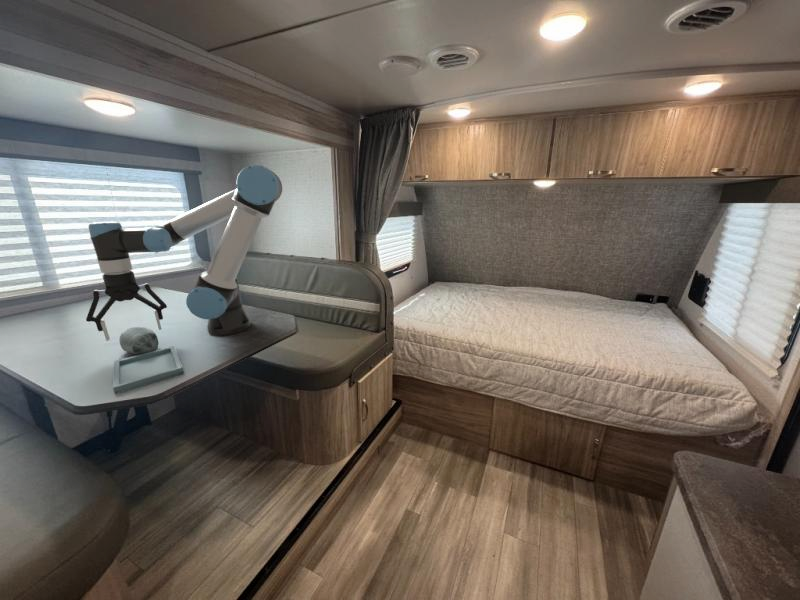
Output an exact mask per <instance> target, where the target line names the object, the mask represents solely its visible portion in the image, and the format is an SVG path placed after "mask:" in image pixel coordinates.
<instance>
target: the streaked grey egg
mask: <svg viewBox="0 0 800 600" xmlns="http://www.w3.org/2000/svg"><path fill="white" fill-rule="evenodd" d="M119 345H120V347H121V349H122V350H123V351H124V352H126V353H129V354H132V355H140V354H144V353H148V352H152V351H156V350H158V347H159V339H158V336H157V334H156V332H155V331H154V330H152V329H150V328H147V327H142V326H137V327H129V328H127V329H125V330H124V331H122V332H121V334H120V336H119Z"/></svg>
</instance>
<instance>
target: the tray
mask: <svg viewBox="0 0 800 600" xmlns="http://www.w3.org/2000/svg"><path fill="white" fill-rule="evenodd" d="M113 361H114V362H113V383H112V385H113V386H112V388H113V391H114V394H115V395H117V394H121V393H124V392H128V391H130V390H134V389H137V388H140V387H144V386H147V385H150V384H153V383H157V382H160V381H163V380H167V379H170V378H173V377H177V376H180V375H183V374H184V373H185V372H184V369H183V365H182V363H181V360H180V358H179V354H178V352H177V350H176V348H175V346H174V345H173V346H169V347H165V348H159V349H157V350H156V351H152V352H148V353H144V354H140V355H139V354H136V355H133V356H130V357H126V358H122V359H117V360H113Z"/></svg>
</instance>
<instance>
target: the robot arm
mask: <svg viewBox="0 0 800 600" xmlns="http://www.w3.org/2000/svg"><path fill="white" fill-rule="evenodd" d="M235 184H236V188H234V189H233V190H230V191H229V192H226V193H224V194H222V195H220V196H217V197H216V198H214V199H212V200H210V201H207V202H205V203H203V204H201V205H199V206H197V207H195V208H193V209H190V210H188V211H186V212H184V213H182V214H180V215H178V216H176V217H174V218H172V219H170V220H168V221H166V222H163V223H161V224H159V225H153V226H150V227H149V226H148V227H140V228H138V227H137V228H136V227H135V228H126V227H123V226H122V224H121V222H118V221H97V222H96V221H94V222H91V223H89V225H88V231H89V236H90V241H91V242H92V245H93V248H94V252H95V254H96V258H97V263H98V266H99V270H100V272H101V273H102V279H103V283H104V286H105V289H100V290H99V289H93V291H92V294H93V299H92V302H91V305H90V306H89V307H90V308H89V310H88V313H87V316H86V319H85V321H86V322H89V323H90V322H94V323H95V325H96V327H97V332H103V335H104V337H105V341H107V342H108V341H110V339H111V338H110V334H109V332H108V327H107V324H106V322H105V319H104V316H105V315H106V314H107V312H108V311H109V310H110V308H111V307H112V305H114V303H115V302H116V301H117V302H121V303H122V302H124V301H132V300H133V299H136V300H138V301H140V302H141V303H142V304H143V303H144V304H145V305H147V306H148V307H150V308H152V309H153V312H154V315H155V320H156V325H157V327H158V330H159V331H161V330H162V326H161V322H160V321H161V320H163V319H164V317H163V313H162V312H163V311H162V310H164V309H166V308H168V305H167V304H166V302H164V301H163V300H162V298H160V296H158V294H156V293H155V291H153V290H152V288H151V286H150V284H149V283H148V282H145V283H144V284H140V285H138V284H137V281H136V277H135V274H134V271H133V266H132V262H131V258H130V254H133V253H155V254H157V253H162V252H163V253H164V252H165V253H166V252H169V251H170V250H171V248H172V247H174V246H177V245H178V244H179V243H181V242H183V241H185V240H186V239H189V238H191V237H193V236H195V235H196V234H199V233H201V232H203V231H205V230H208V229H210V228H212V227H213V226H215V225H217V224H220V223H222V222H223V221H226V220H228V221H227V224H226V226H225V229H224V231H223V234H222V236H221V238H220V240H219V242H218V245H217V248H216V250H215V252H214V255H213V256H212V259H211V261H210V264H209V266H208V269H207V270H205V271H203V272H200V274H199V277H198V278H197V281H196V283H195V285H194V288H192V289H191V290H190V291H189V292H188V294H187V296H186V299H185V304H186V307H187V309H188V310H189V312H190V313H191V314H192V315H194V316H196V317H197V318H200V319H203V320H208V321H207V325H206V326H207V327H206V328H207V332H208V334H209V335H211V336H218V337H219V336H220V337H221V336H229V335H234V334H238V333H240V332H243V331H246V330H248V329H249V328H250V327H251V326H252V325H251V319H250V317H249V316H248V314H247V312H246V311H245V309H244V307H243V301H242V297H241V290H240V286H239V278H238V273H239V272H240V269H241V267H242V265H243V262H244V260H245V258H246V255H247V253H248V251H249V249H250V246H251V244H252V242H253V239H254V237H255V235H256V233H257V231H258V228H259V226H260V224H261V221H262V220H263V218H266V217H269V216H270V214H271V212H272V210H273V208H274V205H275V203H276V202H277V201H278V200H279V199H280V197H281V195H282V192H283V185H282V181H281V180H280V177H279V176H278V175H277V174H276V173H275V172H273V171H272V169H269V168H268V167H265V166H263V165H259V164H253V165H248V166H246V167H243V168H242V169H241V170H240V171H239V173H238V174H237V177H236V183H235ZM140 290H143V291H145V292H147V293H148V294H149V295H150V296H151V297H152V298H153V299H154V300H155V301H156V303H157V304H156V303H154V302H153V301H151V300H150V299H147V298H146V297H144V296H143V295H141V293H139V291H140ZM104 295H106V296H108V297H109V299H108V300H107V301H106V303H105V304H104V305H103V307H102V308H101V309H100V311H99V312H98V314H96V316H94V315H95V312H96V308H97V306H98V304H99V301H100V298H102V297H103V296H104Z"/></svg>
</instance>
